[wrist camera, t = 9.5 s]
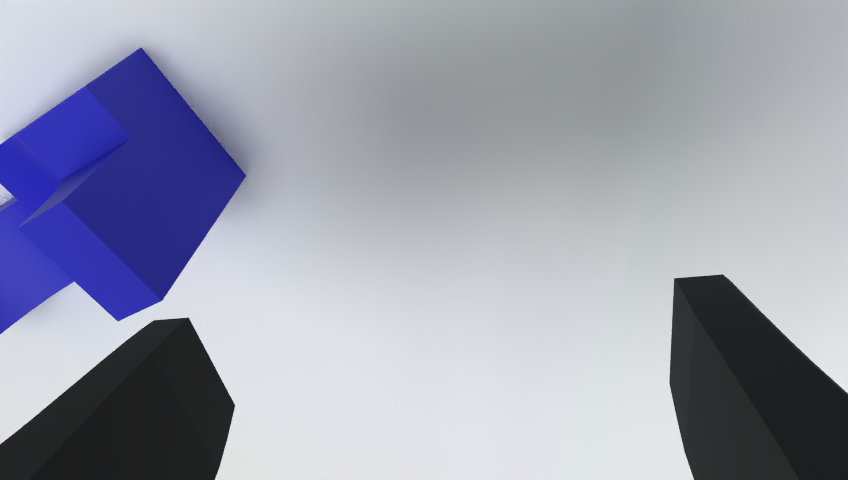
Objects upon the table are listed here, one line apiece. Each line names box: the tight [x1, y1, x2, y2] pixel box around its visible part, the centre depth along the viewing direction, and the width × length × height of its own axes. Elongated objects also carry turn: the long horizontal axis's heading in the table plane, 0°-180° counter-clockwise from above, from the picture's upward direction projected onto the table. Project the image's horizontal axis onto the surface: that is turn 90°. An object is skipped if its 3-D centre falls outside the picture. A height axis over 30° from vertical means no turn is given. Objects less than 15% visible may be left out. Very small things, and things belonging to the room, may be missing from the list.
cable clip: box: [0, 48, 246, 334], centre depth 18 cm, size 12×4×6 cm, turn 121°
